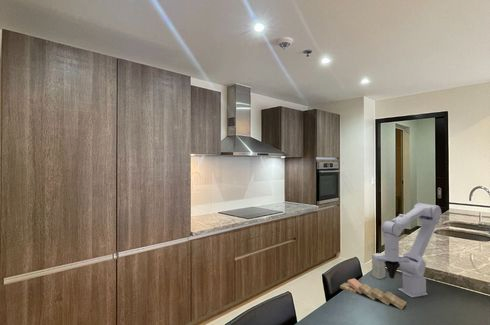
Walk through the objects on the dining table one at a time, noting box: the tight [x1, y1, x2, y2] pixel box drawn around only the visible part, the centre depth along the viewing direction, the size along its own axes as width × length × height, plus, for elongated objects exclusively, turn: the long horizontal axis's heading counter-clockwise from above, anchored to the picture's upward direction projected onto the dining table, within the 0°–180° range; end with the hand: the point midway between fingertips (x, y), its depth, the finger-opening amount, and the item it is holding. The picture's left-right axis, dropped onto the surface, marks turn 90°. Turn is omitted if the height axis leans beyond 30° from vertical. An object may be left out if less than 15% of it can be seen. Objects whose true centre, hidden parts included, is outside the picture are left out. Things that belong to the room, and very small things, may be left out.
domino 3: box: [358, 283, 377, 301], centre depth 126 cm, size 2×5×8 cm
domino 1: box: [339, 282, 358, 294], centre depth 133 cm, size 2×5×8 cm
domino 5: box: [383, 290, 407, 311], centre depth 118 cm, size 2×5×8 cm
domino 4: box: [371, 287, 391, 306], centre depth 122 cm, size 2×5×8 cm
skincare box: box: [371, 252, 386, 280], centre depth 146 cm, size 6×4×12 cm
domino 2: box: [346, 278, 364, 295], centre depth 131 cm, size 2×5×8 cm
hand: (391, 277), depth 123 cm, fingers closed
